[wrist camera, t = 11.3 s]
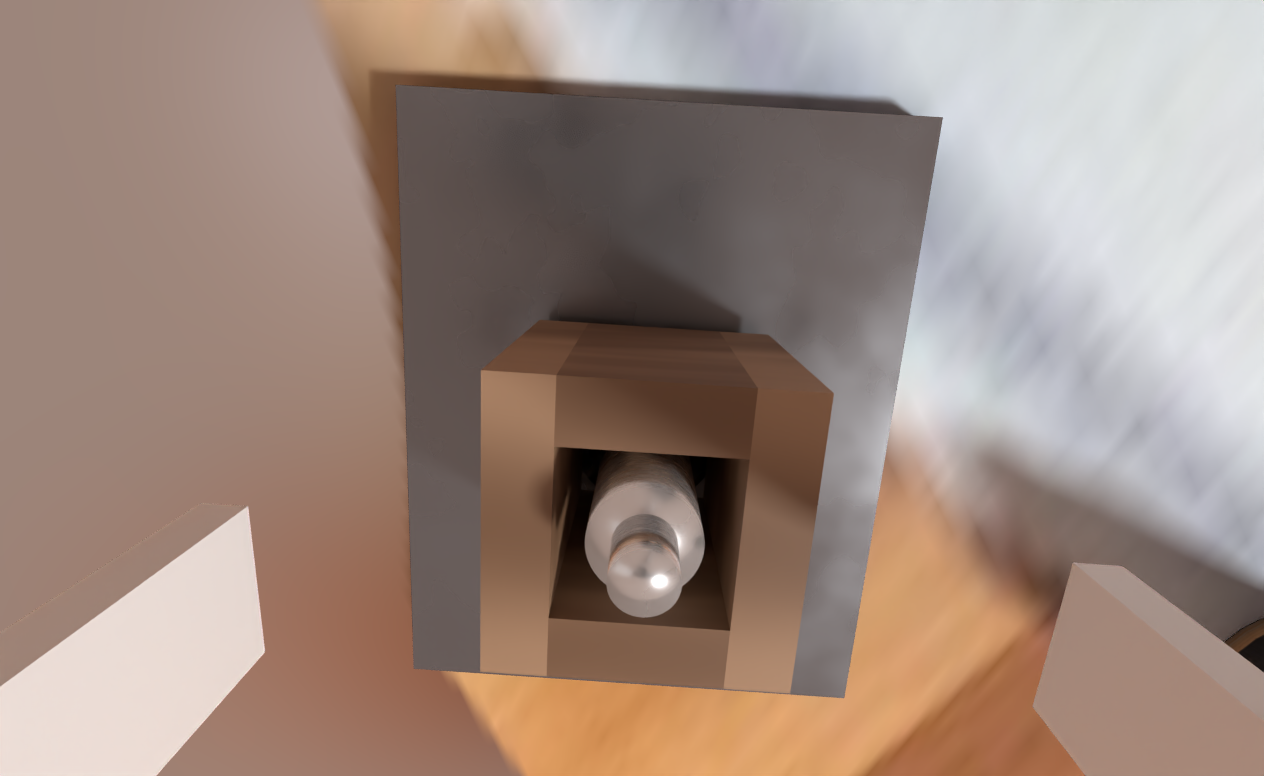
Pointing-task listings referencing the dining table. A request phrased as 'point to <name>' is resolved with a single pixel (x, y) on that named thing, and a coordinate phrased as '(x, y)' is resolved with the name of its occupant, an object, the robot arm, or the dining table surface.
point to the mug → (1250, 643)
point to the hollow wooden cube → (730, 508)
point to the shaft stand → (650, 316)
